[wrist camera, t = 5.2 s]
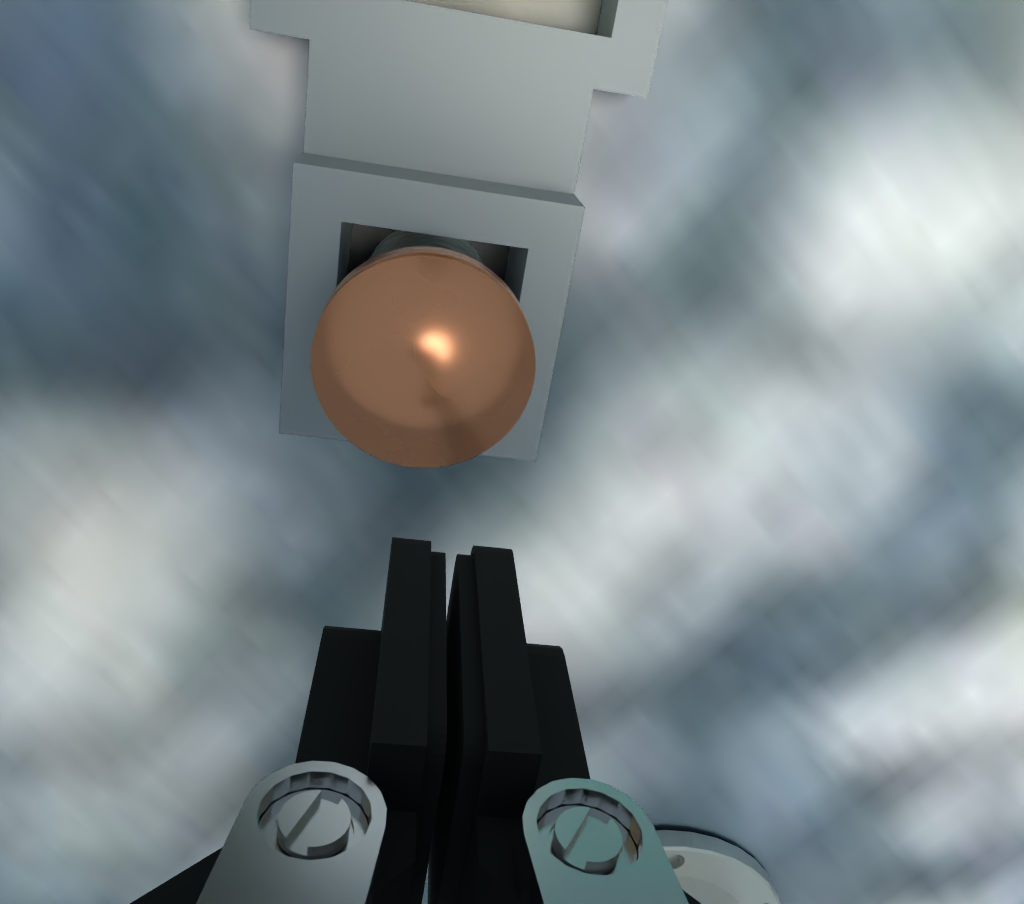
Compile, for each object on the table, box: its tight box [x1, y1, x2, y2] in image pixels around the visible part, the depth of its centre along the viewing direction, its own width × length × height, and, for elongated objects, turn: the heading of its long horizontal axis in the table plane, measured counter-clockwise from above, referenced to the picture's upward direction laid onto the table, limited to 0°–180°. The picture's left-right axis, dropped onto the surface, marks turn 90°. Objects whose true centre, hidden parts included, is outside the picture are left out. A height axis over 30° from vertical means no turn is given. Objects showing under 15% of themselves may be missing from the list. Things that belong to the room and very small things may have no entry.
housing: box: [250, 0, 668, 461], centre depth 21 cm, size 19×10×4 cm, turn 171°
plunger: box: [311, 230, 536, 468], centre depth 23 cm, size 5×5×7 cm
